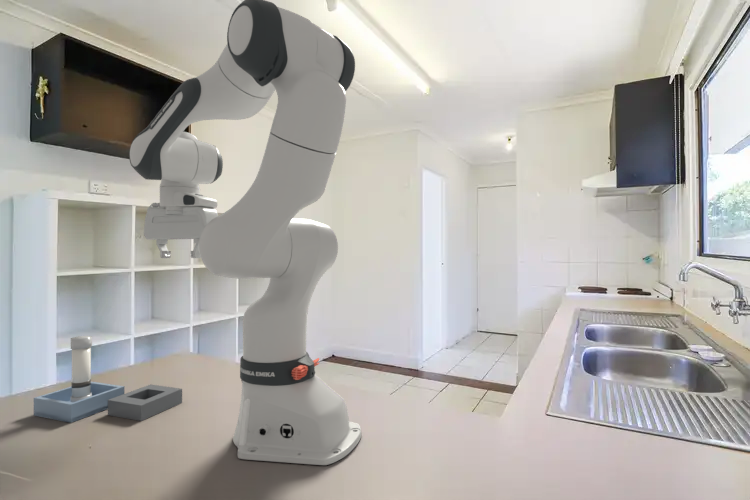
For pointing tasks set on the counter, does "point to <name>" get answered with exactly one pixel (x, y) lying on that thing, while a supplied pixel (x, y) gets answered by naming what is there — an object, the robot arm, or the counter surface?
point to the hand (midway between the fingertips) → (180, 258)
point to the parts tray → (75, 403)
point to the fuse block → (144, 402)
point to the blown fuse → (81, 368)
